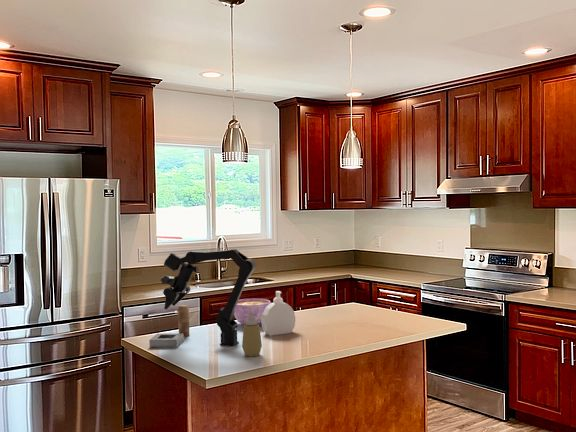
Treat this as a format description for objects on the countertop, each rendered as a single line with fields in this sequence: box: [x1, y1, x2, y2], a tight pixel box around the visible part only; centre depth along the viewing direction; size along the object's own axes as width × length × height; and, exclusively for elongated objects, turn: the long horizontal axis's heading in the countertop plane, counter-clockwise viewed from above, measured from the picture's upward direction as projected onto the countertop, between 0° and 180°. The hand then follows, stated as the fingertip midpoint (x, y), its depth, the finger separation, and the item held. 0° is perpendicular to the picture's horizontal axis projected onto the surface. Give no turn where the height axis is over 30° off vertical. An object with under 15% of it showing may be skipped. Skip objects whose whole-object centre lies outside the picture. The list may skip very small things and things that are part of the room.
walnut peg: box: [177, 304, 190, 337], centre depth 277 cm, size 5×5×14 cm
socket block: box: [148, 332, 185, 349], centre depth 260 cm, size 12×12×4 cm
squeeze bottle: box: [241, 311, 263, 358], centre depth 239 cm, size 8×8×18 cm
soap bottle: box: [260, 290, 296, 337], centre depth 277 cm, size 16×5×20 cm, turn 119°
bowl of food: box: [234, 298, 271, 326], centre depth 299 cm, size 20×20×12 cm
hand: (169, 307), depth 263 cm, fingers open, 9 cm apart
